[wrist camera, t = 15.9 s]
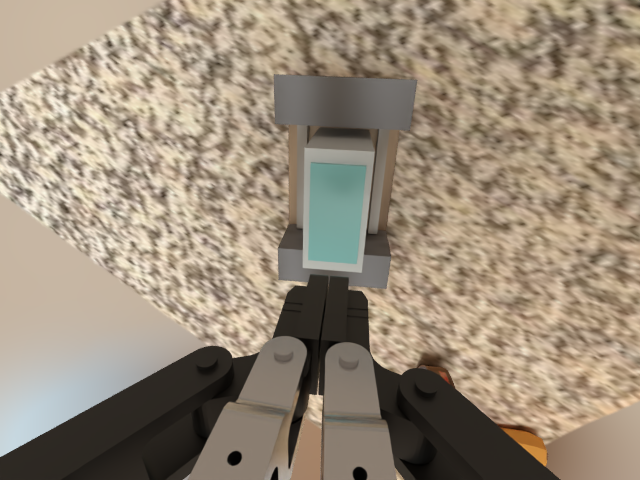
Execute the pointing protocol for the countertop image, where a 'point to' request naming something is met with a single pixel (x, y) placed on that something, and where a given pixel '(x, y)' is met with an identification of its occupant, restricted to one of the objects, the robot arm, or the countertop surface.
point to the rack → (347, 113)
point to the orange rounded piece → (529, 443)
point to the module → (336, 198)
